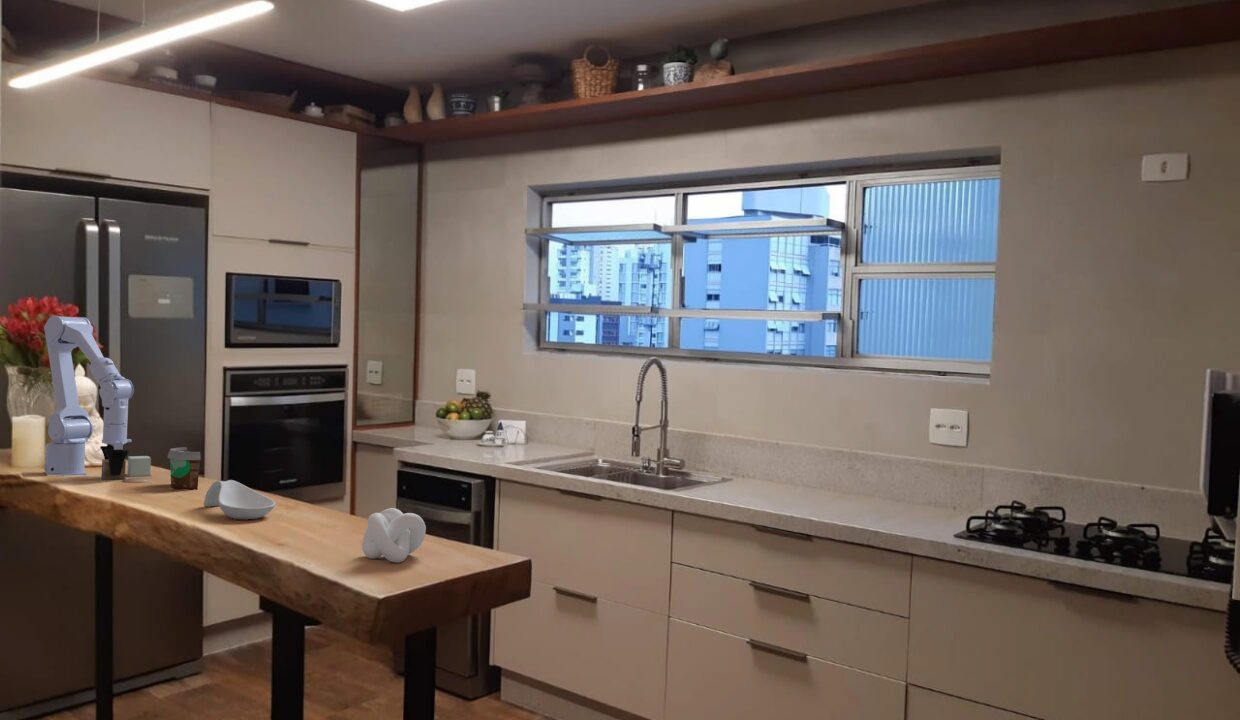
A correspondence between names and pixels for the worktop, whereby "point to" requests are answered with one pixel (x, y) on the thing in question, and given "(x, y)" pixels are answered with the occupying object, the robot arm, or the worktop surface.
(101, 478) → the tile
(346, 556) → the worktop surface
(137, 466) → the sage block
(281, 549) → the worktop surface
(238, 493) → the spoon rest
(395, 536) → the grey knot sculpture
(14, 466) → the worktop surface
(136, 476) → the tile
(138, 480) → the coaster
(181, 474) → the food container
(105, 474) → the walnut block
